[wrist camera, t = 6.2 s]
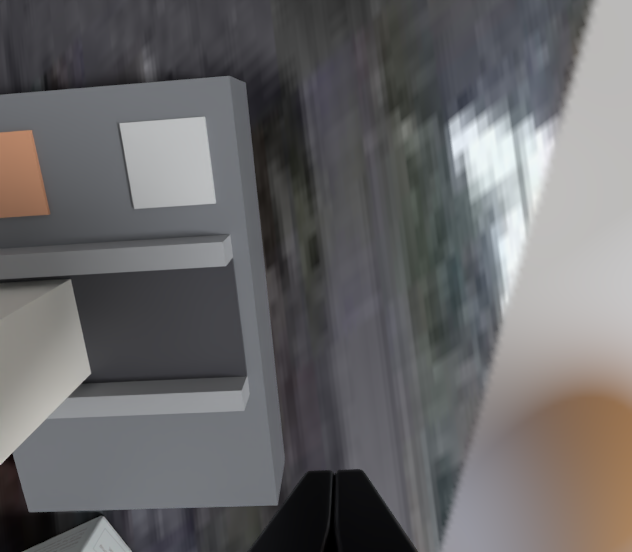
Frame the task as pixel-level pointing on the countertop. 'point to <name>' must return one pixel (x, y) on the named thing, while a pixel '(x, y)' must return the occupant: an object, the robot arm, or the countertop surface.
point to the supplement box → (85, 539)
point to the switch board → (146, 293)
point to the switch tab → (37, 356)
